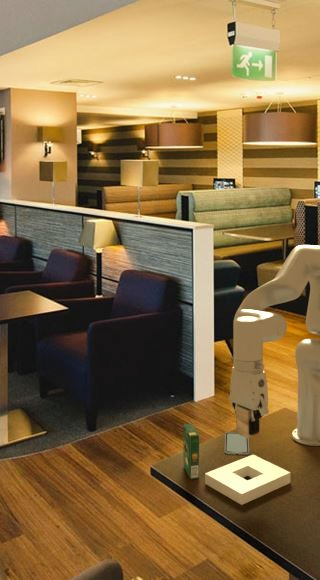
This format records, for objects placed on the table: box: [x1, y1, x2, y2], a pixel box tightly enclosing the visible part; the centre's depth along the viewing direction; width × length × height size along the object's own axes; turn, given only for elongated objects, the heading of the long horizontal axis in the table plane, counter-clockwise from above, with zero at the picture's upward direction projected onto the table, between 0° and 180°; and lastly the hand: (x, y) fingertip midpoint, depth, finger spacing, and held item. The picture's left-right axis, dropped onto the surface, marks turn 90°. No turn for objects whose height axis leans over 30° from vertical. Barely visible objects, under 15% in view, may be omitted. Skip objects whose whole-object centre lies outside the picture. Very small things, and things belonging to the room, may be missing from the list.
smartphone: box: [224, 432, 250, 456], centre depth 193 cm, size 7×1×15 cm
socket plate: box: [204, 454, 291, 506], centre depth 168 cm, size 18×14×3 cm
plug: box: [236, 405, 259, 439], centre depth 165 cm, size 4×4×8 cm
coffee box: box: [182, 423, 200, 480], centre depth 173 cm, size 8×3×13 cm, turn 11°
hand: (247, 430), depth 165 cm, fingers closed on plug, 4 cm apart
